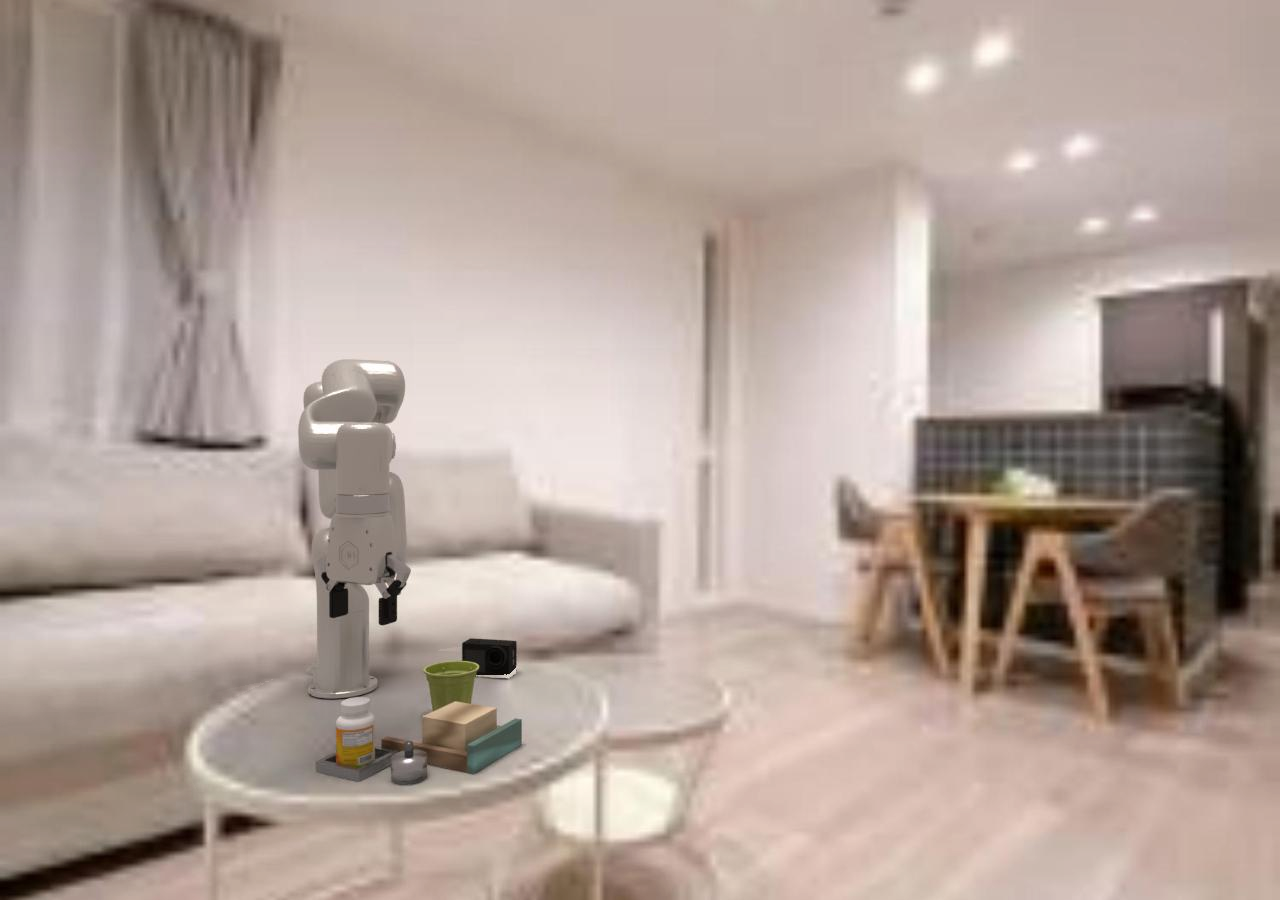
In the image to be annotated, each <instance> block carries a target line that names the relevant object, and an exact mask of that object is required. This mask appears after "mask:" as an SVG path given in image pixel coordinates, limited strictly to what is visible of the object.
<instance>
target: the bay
mask: <svg viewBox="0 0 1280 900" xmlns="http://www.w3.org/2000/svg"><path fill="white" fill-rule="evenodd" d="M497 711H498V709H497V707H493V706H487V705H480V704H476V703H471V704H469V703H463V702H456V701H455V702H453V703H451V704H448V705H446V706H444V707H442V708H440V709H438V710H435V711H433V710H432V711H431V712H428V713H427V714H424V715H423V716H421V719H422V720H421V722H422V723H421V725H422V727H421V737H422V739H421V742H417V741H413V750H422V751H425V752H426V753H427V766H428V765H429V766H434V767H439V768H443V769H449V770H452V771H458V772H463V773H468V774H472V775H475V774H476V773H479V772H481V770H483V769H485V768H486V767H488V766H489V765H491V764H493V763H494V762H496V761H497V760H500V759H501V758H503V757H504V756H506V755H507V754H509V753H511V752H513V751H514V750H515V749H517V748H518V747H520V746H522V744H523V737H522V735H523V734H522V733H523V732H522V730H523V728H522V727H523V726H522V724H523V723H522V722H523V721H522V719H521V718H516V717H515V718H514V719H512V720H510V721H508V722H506V723H504V724H502V725H498V724H497V722H498V721H497V719H498V718H497ZM406 741H409V740H406V739H401V738H397V737H393V736H385V737H383V738H381V742H380V743H381V746H380V747H383V748H388V749H393V750H398V751H399V752H401V751H405V742H406Z"/></svg>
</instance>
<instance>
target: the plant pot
mask: <svg viewBox="0 0 1280 900" xmlns="http://www.w3.org/2000/svg"><path fill="white" fill-rule="evenodd" d="M478 669H479V665H478V664H476V663H473V662H468V661H462V660H446V661H441V662H436V663H432V664H428V665H426V666H425V667H424V668H423V673H424V674H425V676H426V677H425V678H426V681H427V683H428V688H429V697H430V701H431V710H432V712H433V711H435V710H438V709H440V708H442V707H444V706H446V705H448V704H451V703H453V702H455V701H456V702H463V703H469V704H472V698H473V692H474V684H475V679H476V678H477V677H476V672H477V670H478Z"/></svg>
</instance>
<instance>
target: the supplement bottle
mask: <svg viewBox="0 0 1280 900" xmlns="http://www.w3.org/2000/svg"><path fill="white" fill-rule="evenodd" d="M370 709H371V699H370V698H369V697H366V696H353V697H348V698H347V699H344V700H342V701H341V702H340V712H341V715H340V716H339V717H337V719H336V721H335V752H336V763H338V764H343V765H347V766H352V767H356V768H360V767H362V766H364V765H366V764H368V763H370V762H372V761H374V760H376V758H375V746H376V740H375V739H376V737H375V736H376V728H375V727H376V723H375V722H376V721H375V720H376V719H375V715H374V714H373V713H372V712H369V711H370Z"/></svg>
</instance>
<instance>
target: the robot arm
mask: <svg viewBox="0 0 1280 900" xmlns="http://www.w3.org/2000/svg"><path fill="white" fill-rule="evenodd" d="M303 393H304V394H303V398H302V399H303V400H302V401H303V411H302V413H301V415H300V417H299V421H298V428H297V431H298V433H297V434H298V435H297V436H298V438H297V439H298V451H299V456H300V459H301V461H302V463H303V464H304V465H305V466H306V467H308V468H309V469H310V470H316V471H318V501H319V508H320V512H321V513H322V516H324V517H325V518H326V519H330V523H329V524H330V525H329V527H326V528H323V529H321V530H319V531H318V532H317V533H316V534H315V535H314V537H312V538H313V539H312V541H311V555H312V562H313V570H314V575H315V587H316V590H315V591H316V592H315V593H316V662H311V664H310V665H309V667H307V668H306V669H305V670H304V671H305V672H304V673H305V675H306V676H313V679H312V681H313V682H311V683H310V684H309V685H308V687H307V688H308V689H307V691H309V693H308V695H310V694H311V695H310V696H312V697H315V698H318V699H333V700H334V699H345V698H347V699H348V698H354V697H359V696H361V695H364V694H369V693H371V692H372V691H374V690H375V689H376V688H378V686H379V685H378V683H379V682H378V679H377V677H375V676H373V675H370V598H369V595H368V592H367V590H366V589H365V588H364V586H372V585H375V587H376V588H377V590H378V592H379V593H380V595H381V597H379V598H378V624H379V626H386V625H389V624H393V623H396V622H397V621H398V596H399V595H400V596H401V594H402V590H404V589H405V587H406V586H407V581H408V579H409V577H410V576H411V575H410V574H411V571H412V570H411V568H410V567H409V566H408V565H407V564H406V561H407V557H408V541H407V539H408V538H407V523H406V521H407V519H406V502H405V491H404V485H403V482H402V480H401V478H400V476H399V475H398V474H396V473H395V472H392V471H390V464H391V462H392V460H394V459H395V456H396V450H397V443H396V436H395V434H394V432H392V429H391V428H390V427H389V426H388V425H389V424H392V423H393V422H394V421H395V420H396V418H397V416H398V414H399V411H400V409H401V407H402V404H403V403H404V400H405V399H404V398H405V395H406V394H405V393H406V380H405V376H404V373H403V371H402V369H401V367H400V366H398V364H396V363H395V362H393V361H390V360H372V359H356V358H355V359H354V358H350V359H340V360H339V359H338V360H336V361H333V362H331V363H330V364H328V365H327V366H326V368H325V369H324V370H323V372H322V375H321V381H317V382H313V383H311V384H309V385H308V386H306V388H305V390H304V392H303Z"/></svg>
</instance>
